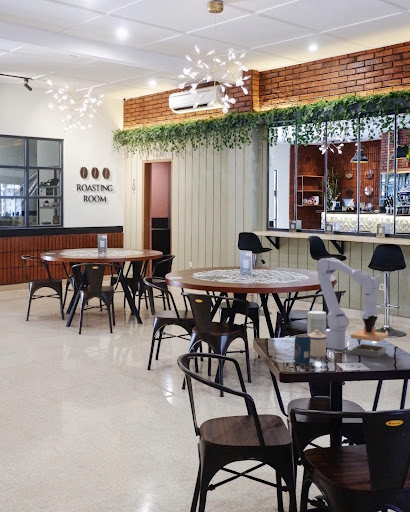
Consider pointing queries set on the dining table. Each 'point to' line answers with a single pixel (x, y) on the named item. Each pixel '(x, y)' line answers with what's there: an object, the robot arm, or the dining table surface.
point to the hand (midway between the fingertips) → (369, 332)
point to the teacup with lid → (317, 344)
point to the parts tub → (369, 350)
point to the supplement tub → (316, 322)
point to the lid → (369, 335)
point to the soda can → (302, 349)
